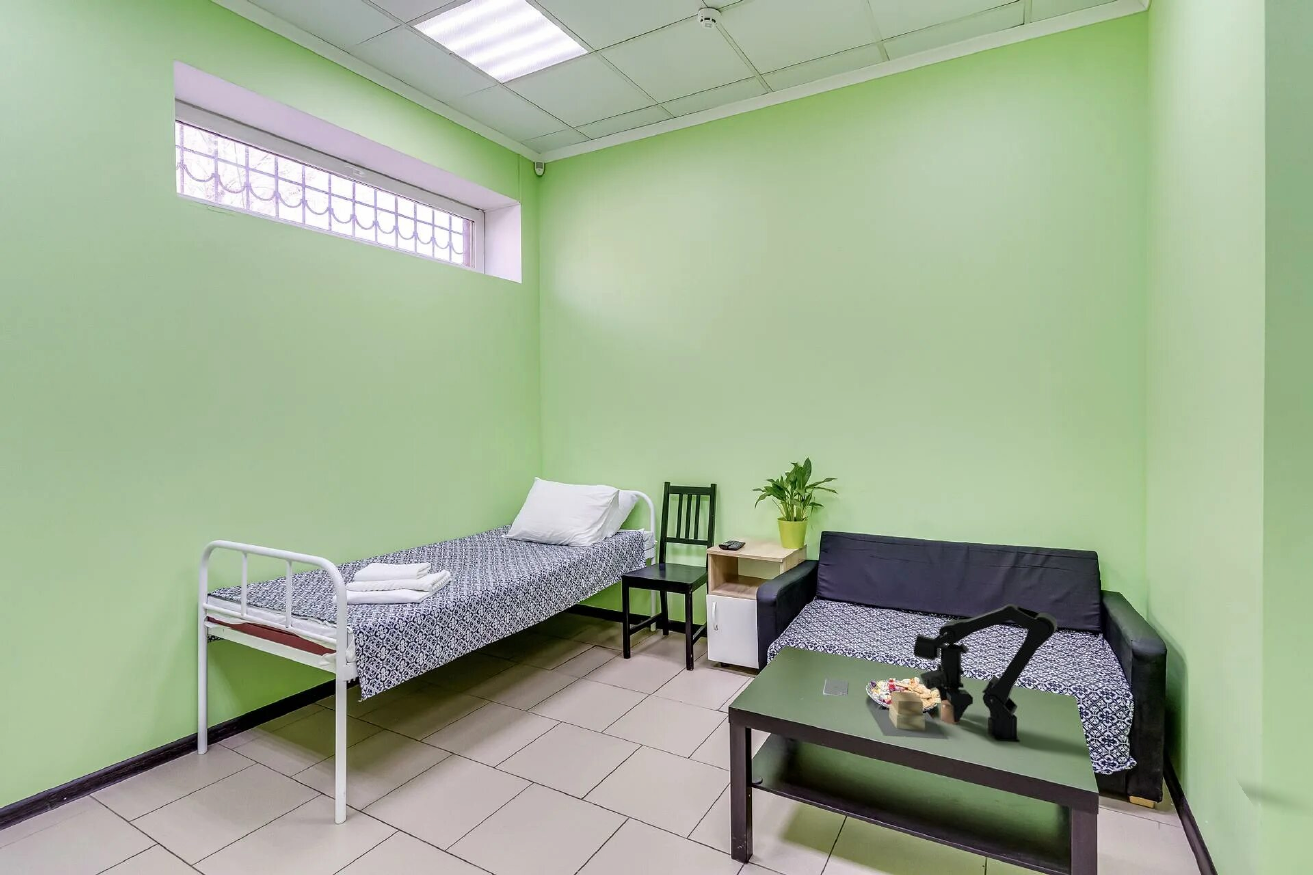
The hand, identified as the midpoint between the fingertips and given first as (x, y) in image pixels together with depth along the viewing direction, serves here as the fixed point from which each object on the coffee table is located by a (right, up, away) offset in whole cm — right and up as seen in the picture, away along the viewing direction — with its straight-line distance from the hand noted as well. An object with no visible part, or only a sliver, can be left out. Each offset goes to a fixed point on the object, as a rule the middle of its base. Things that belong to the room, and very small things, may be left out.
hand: (950, 715), depth 191 cm
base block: (-14, -1, -3) cm, 15 cm away
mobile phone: (-28, -2, +25) cm, 37 cm away
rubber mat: (-14, -2, -3) cm, 15 cm away
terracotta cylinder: (0, -2, 0) cm, 2 cm away
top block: (-14, +3, -3) cm, 15 cm away
